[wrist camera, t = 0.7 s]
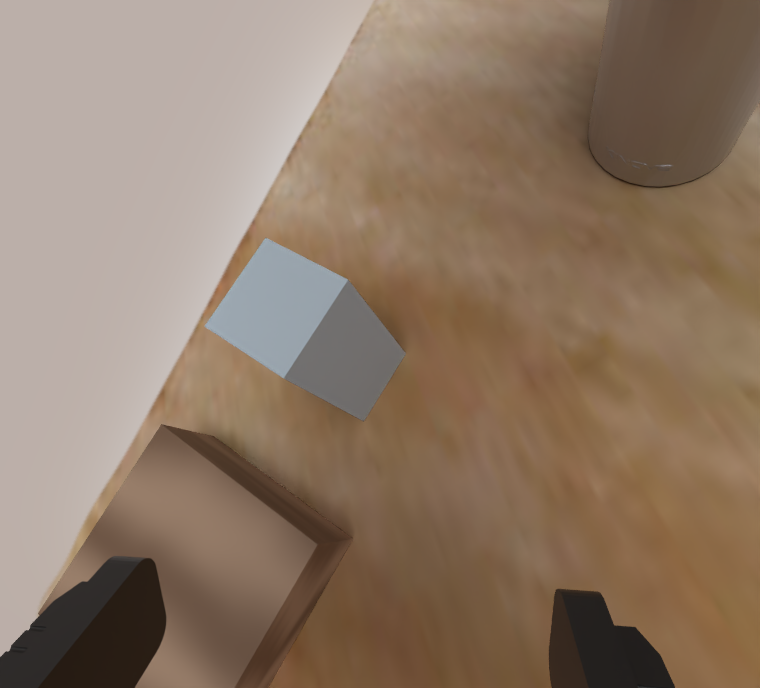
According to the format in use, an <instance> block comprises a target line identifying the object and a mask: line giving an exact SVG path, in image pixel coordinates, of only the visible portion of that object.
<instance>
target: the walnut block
mask: <svg viewBox="0 0 760 688" xmlns="http://www.w3.org/2000/svg"><path fill="white" fill-rule="evenodd" d="M352 540H353V538H351V537H350V536H349V535H347V534H346V533H344V532H343V531H342V530H340V529H339V528H338V527H336V526H335V525H334V524H332V523H331V522H329V521H328V520H327V519H325V518H324V517H323V516H321V515H320V514H319V513H317V512H316V511H315V510H313V509H312V508H310V507H309V506H308V505H306V504H305V503H304V502H302V501H301V500H300V499H298V498H297V497H295V496H294V495H293V494H291V493H290V492H289V491H287V490H286V489H285V488H283V487H282V486H281V485H279V484H278V483H276V482H275V481H274V480H272V479H271V478H270V477H268V476H267V475H266V474H264V473H263V472H261V471H260V470H259V469H257V468H256V467H255V466H253V465H252V464H251V463H249V462H248V461H246V460H245V459H244V458H242V457H241V456H240V455H238V454H237V453H236V452H234V451H233V450H232V449H230V448H229V447H227V446H226V445H225V444H223V443H222V442H221V441H219V440H218V439H217V438H215V437H213V436H209V435H205V434H200V433H196V432H192V431H188V430H183V429H179V428H175V427H171V426H166V425H162V424H161V426H160V427H159V429H158V431H157V432H156V434H155V435H154V437H153V438H152V440H151V441H150V443H149V444H148V446H147V447H146V449H145V450H144V452H143V454H142V455H141V457H140V458H139V460H138V461H137V463H136V464H135V466H134V467H133V469H132V470H131V472H130V473H129V475H128V476H127V478H126V480H125V481H124V483H123V484H122V486H121V487H120V489H119V490H118V492H117V493H116V495H115V496H114V498H113V499H112V501H111V502H110V504H109V506H108V507H107V509H106V510H105V512H104V513H103V515H102V516H101V518H100V519H99V521H98V522H97V524H96V525H95V527H94V528H93V530H92V532H91V533H90V535H89V536H88V538H87V539H86V541H85V542H84V544H83V545H82V547H81V548H80V550H79V551H78V553H77V555H76V556H75V558H74V559H73V561H72V562H71V564H70V565H69V567H68V568H67V570H66V571H65V573H64V574H63V576H62V577H61V579H60V581H59V582H58V584H57V585H56V587H55V588H54V590H53V591H52V593H51V594H50V596H49V597H48V599H47V600H46V602H45V603H44V605H43V607H42V608H41V610H40V611H39V613H38V614H39V615H41V614H42V613H43V611H44V610H45V609H46V608H47V607H48V606H49V605H50V604H51V603H52V602H53V601H54V600H56V599H57V598H58V597H60V596H61V595H63V594H64V593H66V592H67V591H69V590H70V589H72V588H73V587H74V586H76V585H77V584H79V583H80V582H82V581H85V582H88V581H89V579H90V578H91V577H92V576H93V575H94V574H95V573H96V572H97V571H98V570H99V568H100V567H101V566H102V565H103V564H104V563H105V562H106V561H107V560H108V559H109V558H111V557H113V556H128V557H142V558H151V559H152V560H153V561H154V562H155V564H156V568H157V573H158V577H159V582H160V587H161V592H162V597H163V601H164V606H165V611H166V629H165V633H164V637H163V640H162V642H161V645H160V647H159V649H158V651H157V652H156V654H155V656H154V657H153V659H152V660H151V662H150V664H149V665H148V667H147V669H146V670H145V672H144V673H143V675H142V677H141V678H140V680H139V681H138V683H137V685H136V686H135V688H268V687H269V685H270V683H271V682H272V680H273V678H274V676H275V675H276V673H277V671H278V669H279V668H280V666H281V664H282V662H283V661H284V659H285V657H286V655H287V654H288V652H289V650H290V648H291V647H292V645H293V643H294V641H295V640H296V638H297V636H298V634H299V633H300V631H301V629H302V627H303V625H304V624H305V622H306V620H307V618H308V617H309V615H310V613H311V611H312V610H313V608H314V606H315V604H316V603H317V601H318V599H319V597H320V596H321V594H322V592H323V590H324V589H325V587H326V585H327V583H328V582H329V580H330V578H331V576H332V575H333V573H334V571H335V569H336V568H337V566H338V564H339V562H340V561H341V559H342V557H343V555H344V554H345V552H346V550H347V548H348V547H349V545H350V543H351V541H352Z"/></svg>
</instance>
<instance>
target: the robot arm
mask: <svg viewBox="0 0 760 688" xmlns="http://www.w3.org/2000/svg"><path fill="white" fill-rule="evenodd" d="M759 102H760V0H610V1H609V7H608V13H607V19H606V25H605V32H604V38H603V44H602V50H601V56H600V62H599V68H598V75H597V81H596V86H595V92H594V98H593V104H592V111H591V117H590V123H589V132H588V141H589V145H590V150H591V152H592V154H593V155H594V157H595V159H596V161H597V162H598V163H599V164H600V165H601V166H602V167H603V168H604V169H605V170H606V171H608V172H609V173H611V174H612V175H614V176H615V177H617V178H619V179H622V180H624V181H627V182H629V183H634V184H638V185H643V186H658V187H661V186H670V185H678V184H681V183H685V182H688V181H692V180H694V179H696V178H699V177H701V176H703V175H705V174H707V173H708V172H710V171H711V170H713V169H714V168H715V167H717V166H718V165H719V164H720V163H721V162H722V161H723V160H724V159H725V158H726V157H727V156H728V155H729V153H730V152H731V150H732V148H733V146H734V145H735V143H736V141H737V139H738V138H739V136H740V134H741V132H742V131H743V129H744V127H745V125H746V124H747V122H748V120H749V118H750V117H751V115H752V113H753V112H754V110H755V108H756V107H757V105H758V103H759ZM165 629H166V611H165V606H164V601H163V597H162V592H161V587H160V582H159V577H158V573H157V568H156V564H155V562H154V561H153V560H152V559H151V558H142V557H128V556H113V557H111V558H109V559H108V560H107V561H106V562H105V563H104V564H103V565H102V566H101V567H100V568H99V570H98V571H97V572H96V573H95V574H94V575H93V576H92V577H91V578H90V579H89V581H88V582H85V581H82V582H80V583H79V584H77V585H76V586H74V587H73V588H72V589H70V590H69V591H67V592H66V593H64V594H63V595H61V596H60V597H58V598H57V599H56V600H54V601H53V602H52V603H51V604H50V605H49V606H48V607H47V608H46V609H45V610H44V611H43V613H42V614H41V615H40V616H39V617H38V618H37V619H36V620H35V621H34V622H33V623H32V624H31V626H30V629H29V630H26V631H25V632H24V633H23V634H22V635H21V636H20V637H19V638H18V639H17V640H16V641H15V642H14V643H13V644H12V645H11V649H10V651H9V652H5V653H4V654H3V655H2V656H1V657H0V688H135V686H136V685H137V683H138V681H139V680H140V678H141V677H142V675H143V673H144V672H145V670H146V669H147V667H148V665H149V664H150V662H151V660H152V659H153V657H154V656H155V654H156V652H157V651H158V649H159V647H160V645H161V642H162V640H163V637H164V633H165ZM549 670H550V680H551V686H552V688H675V686H674V684H673V682H672V680H671V677H670V675H669V673H668V671H667V669H666V667H665V664H664V662H663V660H662V658H661V656H660V654H659V653H658V652H657V651H656V650H655V649H654V648H653V647H652V645H651V644H650V643H649V642H648V641H647V640H646V639H645V638H644V636H643V635H642V634H641V633H640V632H639V631H638V630H637V629H636V628H635V627H626V626H614V624H613V621H612V619H611V616H610V614H609V611H608V608H607V606H606V603H605V601H604V598H603V596H602V595H601V593H599V592H594V591H580V590H566V589H557V590H556V592H555V596H554V606H553V616H552V625H551V635H550V645H549Z"/></svg>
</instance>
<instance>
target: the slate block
mask: <svg viewBox="0 0 760 688" xmlns="http://www.w3.org/2000/svg"><path fill="white" fill-rule="evenodd" d="M205 327H206V328H208V329H209V330H211V331H212V332H214V333H215V334H217V335H218V336H220V337H221V338H223V339H225V340H226V341H228V342H229V343H231V344H232V345H234V346H235V347H237V348H238V349H240V350H241V351H243V352H244V353H246V354H247V355H249V356H250V357H252V358H253V359H255V360H256V361H258V362H260V363H261V364H263V365H264V366H266V367H267V368H269V369H270V370H272V371H273V372H275V373H276V374H278V375H279V376H281V377H282V378H284V379H286V380H288V381H289V382H291V383H293V384H295V385H297V386H299V387H301V388H303V389H304V390H306V391H308V392H310V393H312V394H314V395H316V396H317V397H319V398H321V399H323V400H325V401H327V402H329V403H330V404H332V405H334V406H336V407H338V408H340V409H342V410H344V411H345V412H347V413H349V414H351V415H353V416H355V417H357V418H358V419H360V420H362V421H364V420H365V419H366V417H367V416H368V414H369V412H370V411H371V409H372V408H373V406H374V404H375V403H376V401H377V399H378V398H379V396H380V395H381V393H382V391H383V390H384V388H385V387H386V385H387V383H388V382H389V380H390V379H391V377H392V375H393V374H394V372H395V371H396V369H397V367H398V366H399V364H400V362H401V361H402V359H403V358H404V356H405V354H406V353H405V352H404V351H403V349H402V348H401V347H400V345H399V344H398V343H397V342H396V340H395V339H394V338H393V336H392V335H391V334H390V333H389V331H388V330H387V329H386V327H385V326H384V325H383V324H382V322H381V321H380V320H379V319H378V317H377V316H376V315H375V313H374V312H373V311H372V310H371V308H370V307H369V306H368V304H367V303H366V302H365V301H364V299H363V298H362V297H361V295H360V294H359V293H358V292H357V290H356V289H355V288H354V287H353V285H352V284H351V283H350V281H349V280H348V279H346V278H344V277H342V276H340V275H338V274H336V273H334V272H332V271H330V270H328V269H326V268H324V267H322V266H320V265H318V264H316V263H314V262H312V261H310V260H308V259H307V258H305V257H303V256H301V255H299V254H297V253H295V252H293V251H291V250H289V249H287V248H285V247H283V246H281V245H279V244H277V243H275V242H273V241H271V240H269V239H267V238H265V239H264V241H263V242H262V244H261V245H260V247H259V248H258V250H257V251H256V252H255V254H254V255H253V257H252V258H251V260H250V261H249V263H248V264H247V266H246V267H245V268H244V270H243V271H242V273H241V274H240V276H239V277H238V279H237V280H236V281H235V283H234V284H233V286H232V287H231V289H230V290H229V292H228V293H227V295H226V296H225V297H224V299H223V300H222V302H221V303H220V305H219V306H218V308H217V309H216V311H215V312H214V313H213V315H212V316H211V318H210V319H209V321H208V322H207V324H206V325H205Z"/></svg>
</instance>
